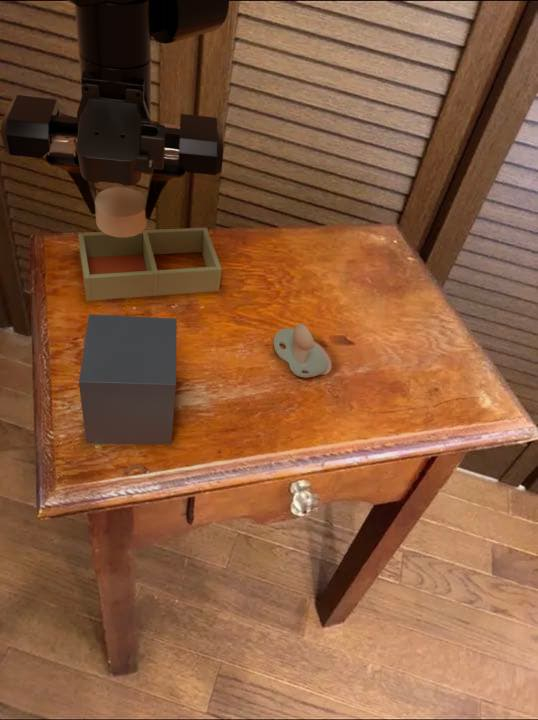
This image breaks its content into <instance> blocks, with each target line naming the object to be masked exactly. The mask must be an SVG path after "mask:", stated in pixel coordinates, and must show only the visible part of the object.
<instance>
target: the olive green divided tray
mask: <svg viewBox="0 0 538 720" xmlns="http://www.w3.org/2000/svg"><path fill="white" fill-rule="evenodd" d="M77 236H78V237H77V239H78V248H79V258H80V265H81V272H82V279H83V286H84V292H85V301H87V302H91V301H105V300H115V299H116V300H117V299H118V300H119V299H130V298H131V299H132V298H143V297H155V296H170V295H183V294H195V293H206V292H208V293H209V292H219V291H220V286H221V281H222V280H221V279H222V277H221V276H222V271H223V269H222V266H221V262H220V260H219V257H218V254H217V252H216V249H215V247H214V246H215V245H214V243H213V240H212V238H211V234H210V232H209V230H208V227H189V228H188V227H187V228H164V229H144V230H143V231H142V232H141V233H139V234H138V235H135V236H132V237H125V238H121V237H113V236H110V235H107V234H105V233H104V232H102V231H95V232H93V231H92V232H78V233H77ZM186 253H187V254H188V253H201V255H202V259H203V261H204V264H205V266H201V267H187V268H171V269H170V268H169V269H158V266H157V263H156V260H155V256H154V255H170V254H171V255H172V254H186Z"/></svg>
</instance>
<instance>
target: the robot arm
mask: <svg viewBox="0 0 538 720" xmlns="http://www.w3.org/2000/svg"><path fill="white" fill-rule="evenodd" d="M66 1H67V2H68V3H71V4H72V5H74V13H75V23H76V24H75V25H76V35H77V49H78V61H79V62H78V63H79V74H80V75H79V77H80V84H81V85H80V86H81V87H80V89H81V98H80V101H79V105H78V108H77V112H76V116H69V115H68V116H67V115H61V107H60V103H59V101H58V99H56V98H49V97H39V96H31V95H30V96H29V95H21V94H17V95H16V96H14V98H13V99H12V100H11V101H10V102H9V105H8V107H7V110H6V111H5V115H4V116H3V119H2V121H1V128H0V134H1V135H0V136H1V139H2V146H3V149H4V152H5V153H6V154H8V155H9V156H15V157H25V158H34V159H35V158H37V159H42V158H44V157H45V162H46V163H47V164H48V165H49V166H52V167H53V166H54V167H58V168H60V169H62V170H64V171H66V173H67V174H68V175H69V177H70V178H71V180H72V181H73V182H74V184H75V186H76V187H77V189H78V191H79V193H80V195H81V197H82V199H83V201H84V203H85V205H86V206H87V208H88V210H89V212H90V214H91V215H96V213H95V198H96V196H97V188H96V184H98V183H109V184H120V185H121V186H124V187H131V186H135V185H137V184H138V183H140V181H141V179H142V174H149V179H148V187H147V192H146V218H147V219H151V217H152V215H153V212H154V211H155V208H156V206H157V203H158V201H159V199H160V196H161V194H162V192H163V190H164V189H165V187H166V186H167V184H168V183H169V181H170V180H172V179H174V178H178V179H179V178H183V177H185V175H186V173H188V174H189V173H192V174H200V175H208V176H209V175H210V176H216V175H218V174H221V173H222V169H223V167H222V166H223V161H224V133H223V124H222V123H221V121H220V119H218V117H215V116H206V115H205V116H204V115H197V114H188V113H187V114H186V113H180V118H179V124H173V123H172V124H171V123H161V124H157V123H152V120H151V119H152V117H151V115H152V114H151V113H152V110H151V108H152V105H151V104H152V39H154V41H156V42H158V43H160V44H165V45H167V44H171V43H176V42H179V41H183V40H186V39H189V38H194V37H197V36H201V35H205V34H208V33H211V32H215V31H217V30H219V29H221V27H222V26H224V23H225V22H226V19H227V17H228V14H229V9H230V0H66Z"/></svg>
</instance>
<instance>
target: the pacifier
mask: <svg viewBox="0 0 538 720" xmlns="http://www.w3.org/2000/svg"><path fill="white" fill-rule="evenodd" d="M281 345H283V346H284V347H285V348H282V347H281ZM273 349H274V351H275V353H276V355H277V356H278V357H279V358H280V359H281V360H282V361H284V362H286V363H287V364H288V367H289V370H290V372H291V373H292V374H294V375H295V376H296V377H300V378H313V377H316V376H320V375H321V376H324V375H327V374H328V373H330V372H331V369H332V365H333V364H332V360H331V357H330V355H329V354H328V352H327V351H326V350H325V348H324V347H322V345H320V344H319V343H318V342H317V341H316V340H314V337H313V335H312V332H311V331H310V329H308V327H307V326H306V325H305V324H303V323H301V322H300V323H297V324H296V325H295V327H294V328H289V327H287V328H282V329H279V330H278V331H277V332H276V334H275V335H274V338H273Z"/></svg>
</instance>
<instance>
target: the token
mask: <svg viewBox="0 0 538 720" xmlns="http://www.w3.org/2000/svg"><path fill="white" fill-rule="evenodd" d="M146 200H147V198H146V197H145V196H144V195H143V194H142V193H141V192H139V191H138V190H135V189H132V188H129V187H125V186H124V187H123V186H122V187H121V186H117V187H116V186H115V187H108V188H106V189H103V190H101V191H100V192H98V193H97V194H96V198H95V213H96V214H95V223H96V226H97V228H98V230H99V231H100V232H104V233H105V234H107V235H110V236H113V237H121V238H125V237H132V236H135V235H138V234H139V233H141V232H142V231H143V230H146V227H147V224H148V223H147V218H146Z"/></svg>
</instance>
